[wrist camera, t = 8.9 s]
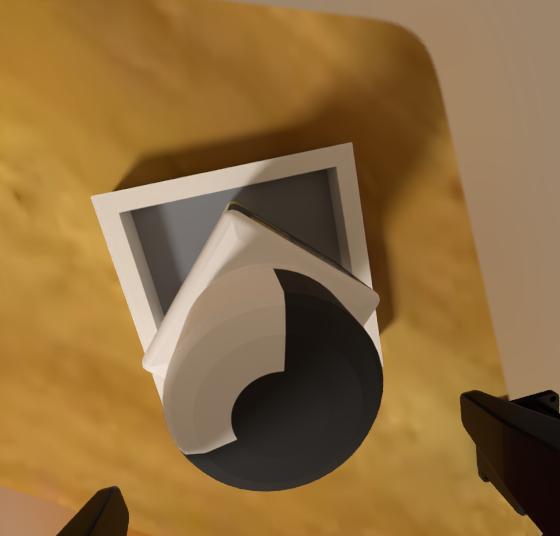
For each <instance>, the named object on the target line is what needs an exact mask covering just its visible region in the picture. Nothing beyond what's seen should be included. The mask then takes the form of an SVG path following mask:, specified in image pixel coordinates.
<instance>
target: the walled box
mask: <svg viewBox="0 0 560 536" xmlns="http://www.w3.org/2000/svg"><path fill="white" fill-rule="evenodd" d="M91 200H92V203H93V205H94V208H95V211H96V214H97V217H98V220H99V223H100V226H101V228H102V231H103V234H104V237H105V240H106V243H107V246H108V249H109V251H110V254H111V257H112V260H113V263H114V266H115V269H116V272H117V274H118V277H119V280H120V283H121V286H122V289H123V292H124V295H125V298H126V300H127V303H128V306H129V309H130V312H131V315H132V318H133V321H134V323H135V326H136V329H137V332H138V335H139V338H140V341H141V344H142V346H143V349H144V352H145V353H146V351H147V349H148V348H149V346H150V344H151V342H152V340H153V338H154V336H155V334H156V332H157V331H158V329H159V327H160V325H161V323H162V321H163V319H164V317H165V315H166V314H167V312H168V310H169V308H170V306H171V304H172V302H173V300H174V299H175V297H176V295H177V293H178V292H179V290H180V288H181V286H182V284H183V283H184V281H185V279H186V277H187V276H188V274H189V272H190V270H191V268H192V267H193V265H194V263H195V261H196V259H197V258H198V256H199V254H200V252H201V251H202V249H203V247H204V245H205V243H206V242H207V240H208V238H209V236H210V235H211V233H212V231H213V229H214V227H215V226H216V224H217V222H218V220H219V219H220V217H221V215H222V213H223V211H224V210H225V208H226V206H227V205H228V203H229V202H237V203H238V204H240V205H242V206H244V207H245V208H247V209H249V210H250V211H252V212H254V213H255V214H257V215H259V216H260V217H262V218H264V219H266V220H267V221H269V222H271V223H272V224H274V225H276V226H277V227H279V228H281V229H282V230H284V231H286V232H287V233H289V234H291V235H293V236H294V237H296V238H298V239H299V240H301V241H303V242H304V243H306V244H308V245H309V246H311V247H313V248H314V249H316V250H318V251H320V252H321V253H323V254H325V255H326V256H328V257H330V258H331V259H333V260H334V261H335V262H337V263H338V264H339V265H341V266H342V267H343V268H345V269H346V270H347V271H349V272H350V273H351V274H353V275H354V276H355V277H357V278H358V279H359V280H361V281H362V282H363V283H365V284H366V285H367V286H369V287H370V288H371V289H373V288H372V281H371V274H370V267H369V259H368V252H367V245H366V238H365V231H364V224H363V216H362V209H361V202H360V195H359V188H358V181H357V173H356V166H355V159H354V152H353V145H352V142H350V143H345V144H340V145H335V146H330V147H326V148H321V149H316V150H311V151H306V152H302V153H297V154H292V155H287V156H282V157H278V158H273V159H268V160H263V161H258V162H254V163H249V164H244V165H239V166H234V167H230V168H225V169H220V170H215V171H211V172H206V173H201V174H196V175H191V176H187V177H182V178H177V179H172V180H167V181H163V182H158V183H153V184H148V185H143V186H139V187H134V188H129V189H124V190H119V191H115V192H110V193H105V194H100V195H95V196H91ZM364 328H365V330H366V331H367V333H368V334H369V336H370V337H371V339H372V340H373V342H374V345H375V347H376V349H377V351H378V354H379V357H380V361H381V364H382V367H383V360H382V353H381V345H380V338H379V331H378V324H377V317H376V310H374V312H373V313H372V315H371V316H370V318H369V319H368V321H367V322H366V324H365V325H364ZM152 375H153V378H154V381H155V384H156V387H157V390H158V393H159V395H160V398H161V401H162V404H163V399H162V397H163V386H164V380H165V378H163V377H161V376H158V375H156V374H154V373H152Z"/></svg>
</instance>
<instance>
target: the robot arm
mask: <svg viewBox="0 0 560 536" xmlns="http://www.w3.org/2000/svg"><path fill="white" fill-rule="evenodd" d="M460 406H461V419H462V423H463V426H464V428H465V429H466V431H467V432H468V434H469V435H470V437H471V438H472V440H473V441H474V443H475V444H476V453H477V466H478V474H479V477H480V478H481V479H482V480H483V481H484V482H489V481H490V482H491V483H492V484H493V485H494V486H495V488H496V489H497V490H498V491H499V492H500V493H501V495H502V496H503V497H504V498H505V499H506V500H507V501H508V503H509V504H510V505H511V506H512V507H513V508H514V510H515V511H516V512H517V513H518V514H520V515H522V516H524V515H528V517H529V518H530V519H531V520H532V521H533V522H534V523H535V524H536V526H537V527H538V528H539V529H540V531H541V532H542V533H543V534H542V536H560V413H559V395H558V394H557V393H555V392H554V391H552V390H547V391H544V392H540V393H537V394H533V395H529V396H526V397H522V398H519V399H515V400H512V401H505V400H503V399H500V398H497V397H494V396H492V395H489V394H486V393H484V392H481V391H478V390H472V391H469V392H465V393H462V394H461V396H460ZM128 524H129V512H128V508H127V506H126V504H125V501H124V499H123V496H122V494H121V491H120V489H119V488H118V487H117V486H112V487H108V488H104V489H101V490H99V491H98V492H97V493H96V494H95V495H94V496H93V497H92V498H91V499H90V500H89V501H88V502H87V503H86V504H85V505H84V506H83V508H82V509H81V510H80V511H79V512H78V513H77V514H76V515H75V516H74V517H73V518H72V519H71V520H70V521H69V522H68V524H67V525H66V526H65V527H64V528H63V529H62V530H61V531H60V532H59V533H58V534H57V535H56V536H127V530H128Z"/></svg>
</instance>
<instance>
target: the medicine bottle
mask: <svg viewBox="0 0 560 536" xmlns="http://www.w3.org/2000/svg"><path fill="white" fill-rule="evenodd" d="M379 301H380V299H379V295H378V294H377V293H376V292H375V291H374V290H373V289H371V288H370V287H369V286H367V285H366V284H365V283H363V282H362V281H361V280H359V279H358V278H357V277H355V276H354V275H353V274H351V273H350V272H349V271H347V270H346V269H345V268H343V267H342V266H341V265H339V264H338V263H337V262H335V261H334V260H333V259H331V258H330V257H328V256H326V255H325V254H323V253H321V252H320V251H318V250H316V249H314V248H313V247H311V246H309V245H308V244H306V243H304V242H303V241H301V240H299V239H298V238H296V237H294V236H293V235H291V234H289V233H287V232H286V231H284V230H282V229H281V228H279V227H277V226H276V225H274V224H272V223H271V222H269V221H267V220H266V219H264V218H262V217H260V216H259V215H257V214H255V213H254V212H252V211H250V210H249V209H247V208H245V207H244V206H242V205H240V204H238V203H237V202H229V203H228V205H227V206H226V208H225V210H224V211H223V213H222V215H221V217H220V219H219V220H218V222H217V224H216V226H215V227H214V229H213V231H212V233H211V235H210V236H209V238H208V240H207V242H206V243H205V245H204V247H203V249H202V251H201V252H200V254H199V256H198V258H197V259H196V261H195V263H194V265H193V267H192V268H191V270H190V272H189V274H188V276H187V277H186V279H185V281H184V283H183V284H182V286H181V288H180V290H179V292H178V293H177V295H176V297H175V299H174V300H173V302H172V304H171V306H170V308H169V310H168V312H167V314H166V315H165V317H164V319H163V321H162V323H161V325H160V327H159V329H158V331H157V332H156V334H155V336H154V338H153V340H152V342H151V344H150V346H149V348H148V349H147V351H146V353H145V355H144V357H143V361H142V365H143V367H144V369H146V370H147V371H149V372H151V373H154V374H156V375H158V376H161V377H163V378H165V380H164V386H163V397H162V399H163V412H164V417H165V421H166V425H167V427H168V430H169V432H170V435H171V437H172V439H173V440H174V442H175V444H176V445H177V447H178V448H179V450H180V451H181V452H182V453H183V454H184V456H185V457H186V458H187V459H188V460H189V461H190V462H191V463H193V464H194V465H195V466H196V467H197V468H198V469H200V470H201V471H203V472H204V473H206V474H207V475H209V476H210V477H212V478H214V479H215V480H217V481H220V482H222V483H224V484H226V485H229V486H233V487H236V488H240V489H245V490H251V491H281V490H286V489H291V488H296V487H299V486H302V485H306V484H308V483H311V482H313V481H315V480H318V479H320V478H322V477H323V476H325V475H327V474H329V473H330V472H332V471H333V470H335V469H336V468H338V467H339V466H340V465H342V464H343V463H344V462H345V461H346V460H347V459H348V458H349V457H350V456H352V455H353V453H354V452H355V451H356V450H357V449H358V447H359V446H360V445H361V444H362V442H363V441H364V439H365V438H366V436H367V435H368V433H369V431H370V429H371V427H372V425H373V423H374V421H375V419H376V417H377V414H378V411H379V407H380V404H381V399H382V394H383V371H382V364H381V361H380V357H379V354H378V351H377V349H376V347H375V345H374V342H373V340H372V339H371V337H370V336H369V334H368V333H367V331H366V330H365V328H364V325H365V324H366V322H367V321H368V319H369V318H370V316H371V315H372V313H373V312H374V310H375V309H376V307H377V306H378V304H379Z"/></svg>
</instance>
